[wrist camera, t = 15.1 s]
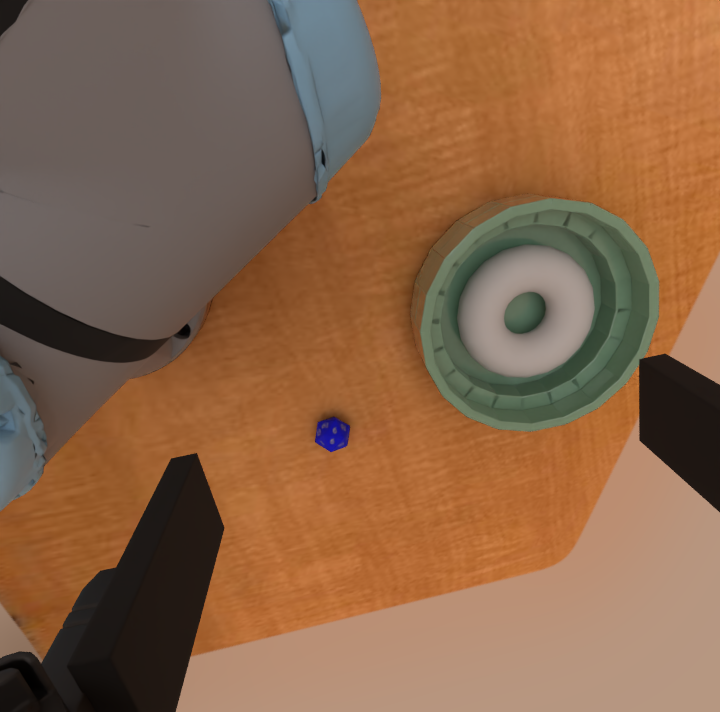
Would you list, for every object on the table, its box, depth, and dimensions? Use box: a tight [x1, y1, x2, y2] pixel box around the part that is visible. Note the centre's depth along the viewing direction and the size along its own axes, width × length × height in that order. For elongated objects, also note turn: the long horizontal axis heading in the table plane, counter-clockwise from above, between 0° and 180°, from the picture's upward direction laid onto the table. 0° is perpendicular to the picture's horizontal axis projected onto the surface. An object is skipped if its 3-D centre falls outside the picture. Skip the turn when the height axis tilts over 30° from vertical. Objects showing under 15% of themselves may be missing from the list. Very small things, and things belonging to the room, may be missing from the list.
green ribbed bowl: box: [410, 194, 659, 432], centre depth 38 cm, size 16×16×5 cm
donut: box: [457, 244, 595, 378], centre depth 38 cm, size 10×4×10 cm
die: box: [315, 417, 350, 452], centre depth 42 cm, size 3×3×3 cm
